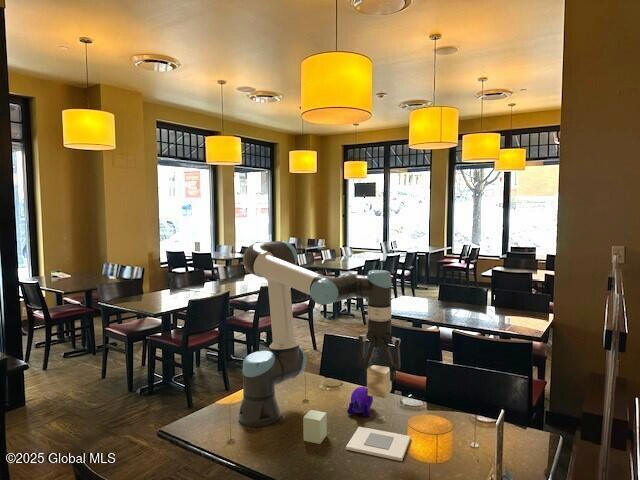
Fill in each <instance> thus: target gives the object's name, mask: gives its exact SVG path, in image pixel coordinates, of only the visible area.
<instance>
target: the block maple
mask: <svg viewBox="0 0 640 480" xmlns="http://www.w3.org/2000/svg"><path fill="white" fill-rule="evenodd" d="M388 370H389V366H382V365H374V364H373V365H371V368H370V369H369V370H368V396H373V397H374V398H381V399H387V398H388V396H389V395H390V393H391V391H390V392H387V372H388Z"/></svg>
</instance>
